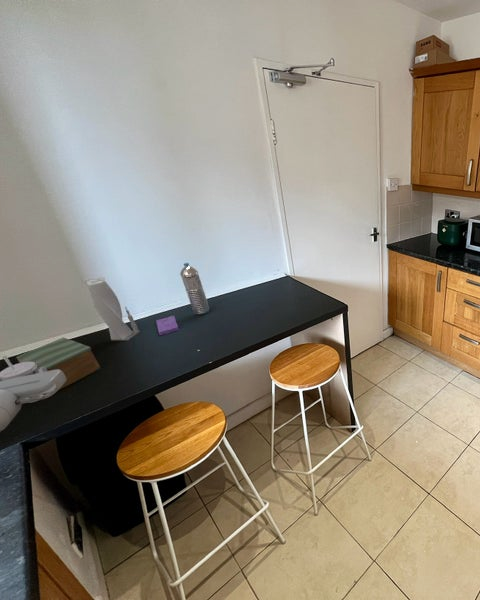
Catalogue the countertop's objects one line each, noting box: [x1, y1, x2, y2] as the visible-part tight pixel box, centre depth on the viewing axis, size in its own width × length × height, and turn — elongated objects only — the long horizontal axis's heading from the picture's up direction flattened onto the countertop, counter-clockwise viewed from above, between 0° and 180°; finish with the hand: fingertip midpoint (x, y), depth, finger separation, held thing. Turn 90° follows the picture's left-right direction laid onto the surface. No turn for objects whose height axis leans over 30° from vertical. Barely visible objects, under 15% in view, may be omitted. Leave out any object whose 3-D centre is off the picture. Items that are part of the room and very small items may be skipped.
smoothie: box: [0, 355, 39, 404], centre depth 81 cm, size 6×6×14 cm
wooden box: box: [17, 348, 102, 391], centre depth 109 cm, size 16×13×9 cm
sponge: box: [155, 315, 180, 336], centre depth 139 cm, size 7×13×2 cm, turn 39°
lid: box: [16, 337, 92, 369], centre depth 107 cm, size 16×13×1 cm
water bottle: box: [179, 262, 211, 316], centre depth 145 cm, size 7×7×25 cm
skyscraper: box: [82, 276, 141, 342], centre depth 126 cm, size 8×8×28 cm
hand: (22, 373), depth 81 cm, fingers closed on smoothie, 6 cm apart
